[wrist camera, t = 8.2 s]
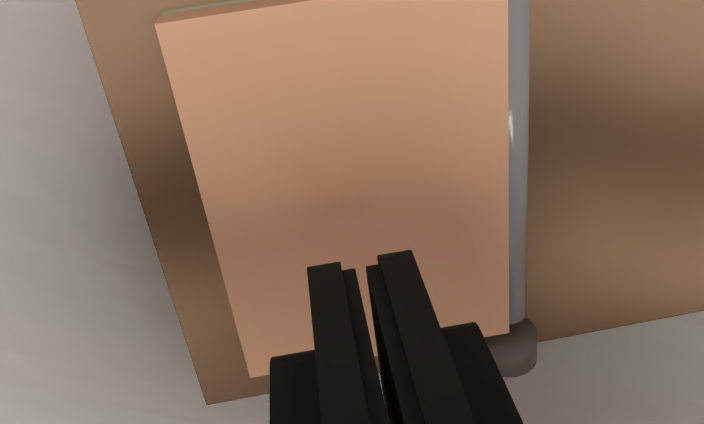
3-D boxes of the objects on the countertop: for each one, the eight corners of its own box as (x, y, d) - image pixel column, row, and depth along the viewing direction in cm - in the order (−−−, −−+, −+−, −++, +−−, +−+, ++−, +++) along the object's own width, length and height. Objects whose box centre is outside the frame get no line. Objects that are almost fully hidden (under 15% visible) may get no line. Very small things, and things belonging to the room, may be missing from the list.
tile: (250, 377, 15) (251, 348, 16) (532, 328, 15) (518, 302, 16) (154, 24, 11) (162, 10, 12) (540, -35, 11) (519, -43, 12)
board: (751, 275, 18) (813, 328, 16) (209, 377, 17) (203, 446, 15) (854, -189, 13) (967, -195, 11) (67, -74, 12) (30, -58, 10)
